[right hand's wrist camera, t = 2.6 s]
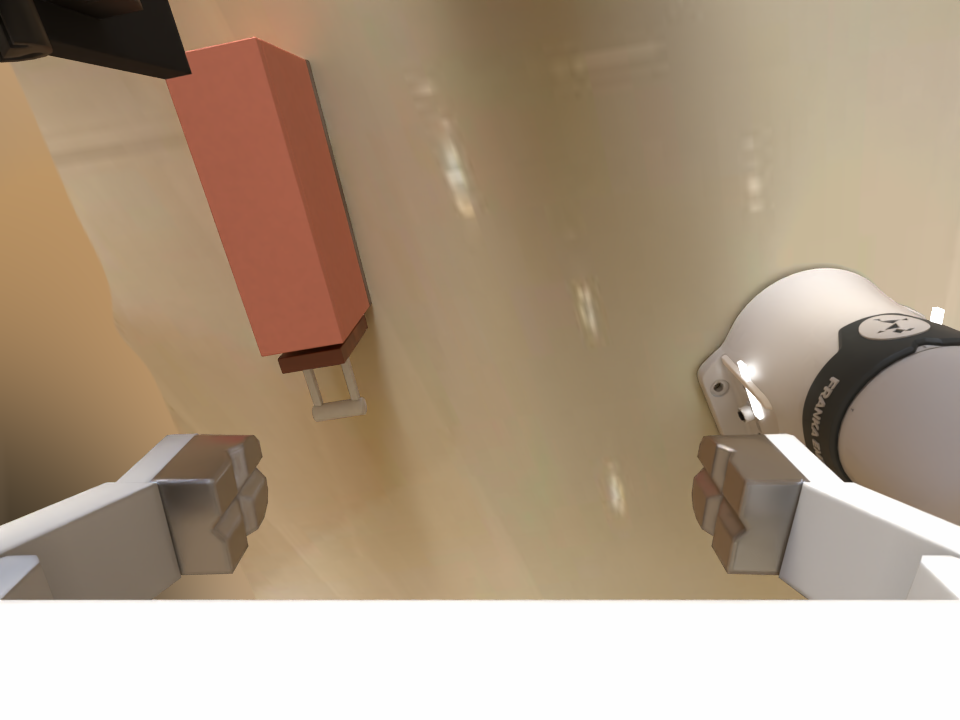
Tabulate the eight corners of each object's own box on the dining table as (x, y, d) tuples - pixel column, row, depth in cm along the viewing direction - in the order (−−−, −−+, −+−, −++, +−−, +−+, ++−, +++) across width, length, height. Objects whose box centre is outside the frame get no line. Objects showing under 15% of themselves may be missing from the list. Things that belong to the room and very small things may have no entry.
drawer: (382, 383, 48) (363, 428, 41) (332, 391, 49) (303, 437, 41) (308, 104, 40) (267, 95, 33) (248, 117, 40) (193, 111, 33)
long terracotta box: (371, 303, 47) (343, 343, 37) (305, 315, 47) (261, 357, 38) (308, 61, 40) (255, 35, 31) (232, 76, 40) (156, 57, 31)
